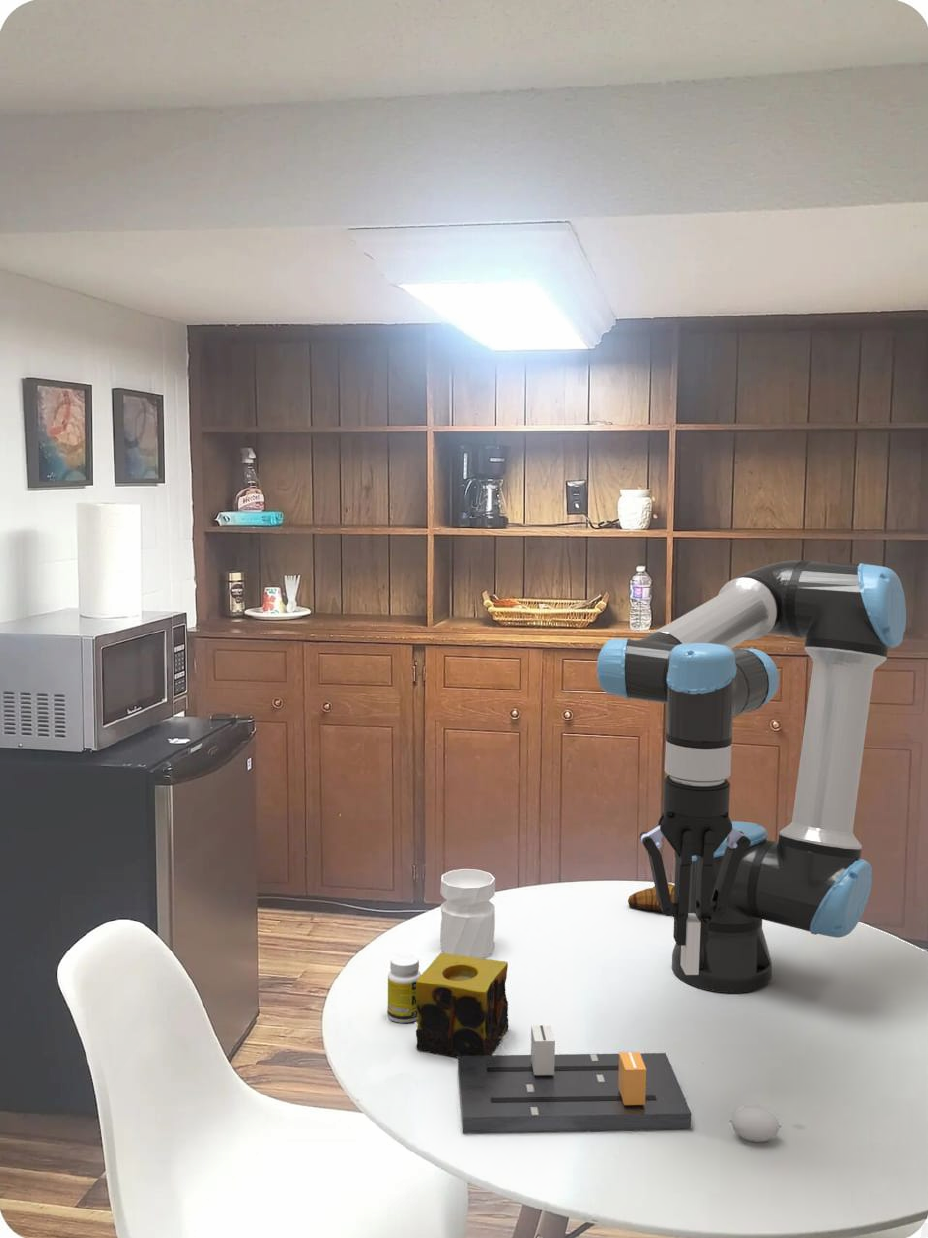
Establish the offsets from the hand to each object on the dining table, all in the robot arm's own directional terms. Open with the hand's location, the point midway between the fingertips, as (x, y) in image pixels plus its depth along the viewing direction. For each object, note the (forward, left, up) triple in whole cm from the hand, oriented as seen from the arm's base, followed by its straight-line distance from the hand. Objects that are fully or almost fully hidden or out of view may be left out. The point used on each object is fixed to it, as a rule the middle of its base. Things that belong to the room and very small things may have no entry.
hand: (689, 969), depth 136 cm
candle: (+26, -19, -19) cm, 37 cm away
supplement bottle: (+34, -26, -19) cm, 46 cm away
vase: (+24, -48, -19) cm, 56 cm away
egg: (-7, +5, -19) cm, 21 cm away
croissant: (-12, -64, -19) cm, 67 cm away
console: (+13, -4, -18) cm, 23 cm away
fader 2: (+6, 0, -16) cm, 17 cm away
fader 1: (+16, -7, -16) cm, 24 cm away
